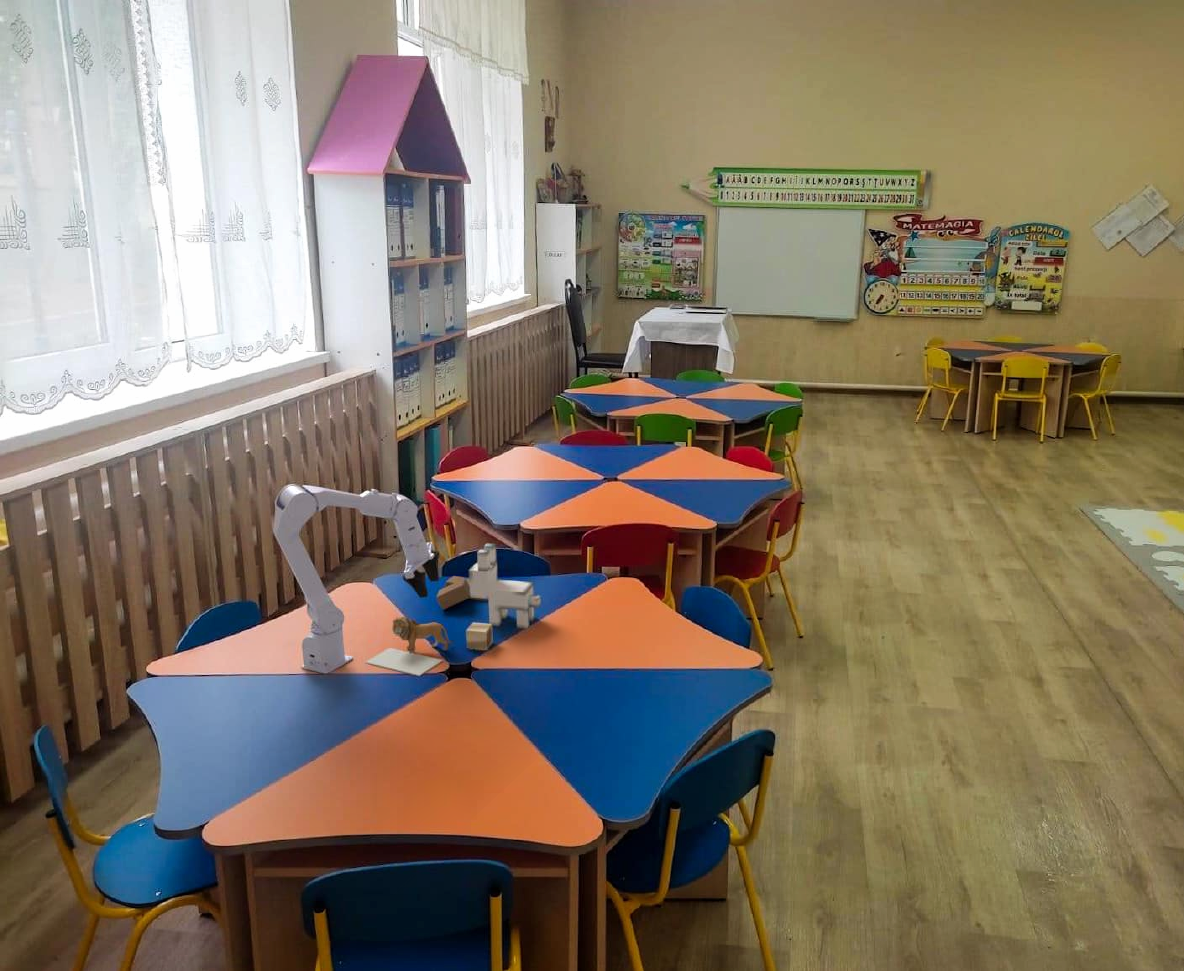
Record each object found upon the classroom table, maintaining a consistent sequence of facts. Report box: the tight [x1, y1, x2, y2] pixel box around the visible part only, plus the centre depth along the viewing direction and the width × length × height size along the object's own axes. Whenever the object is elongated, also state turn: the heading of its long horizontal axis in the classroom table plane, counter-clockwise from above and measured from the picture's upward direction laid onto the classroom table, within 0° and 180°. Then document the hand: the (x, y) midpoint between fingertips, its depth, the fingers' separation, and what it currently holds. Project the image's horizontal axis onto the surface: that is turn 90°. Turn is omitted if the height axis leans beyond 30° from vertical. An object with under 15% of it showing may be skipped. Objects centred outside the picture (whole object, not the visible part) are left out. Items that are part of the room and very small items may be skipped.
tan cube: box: [465, 622, 494, 651], centre depth 241 cm, size 5×5×5 cm
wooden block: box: [435, 575, 488, 611], centre depth 270 cm, size 8×13×18 cm
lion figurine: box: [392, 616, 454, 653], centre depth 238 cm, size 15×5×9 cm, turn 107°
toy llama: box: [468, 542, 541, 630], centre depth 253 cm, size 8×18×20 cm, turn 76°
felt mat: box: [365, 647, 443, 677], centre depth 232 cm, size 9×16×1 cm, turn 62°
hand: (429, 588), depth 243 cm, fingers open, 7 cm apart
